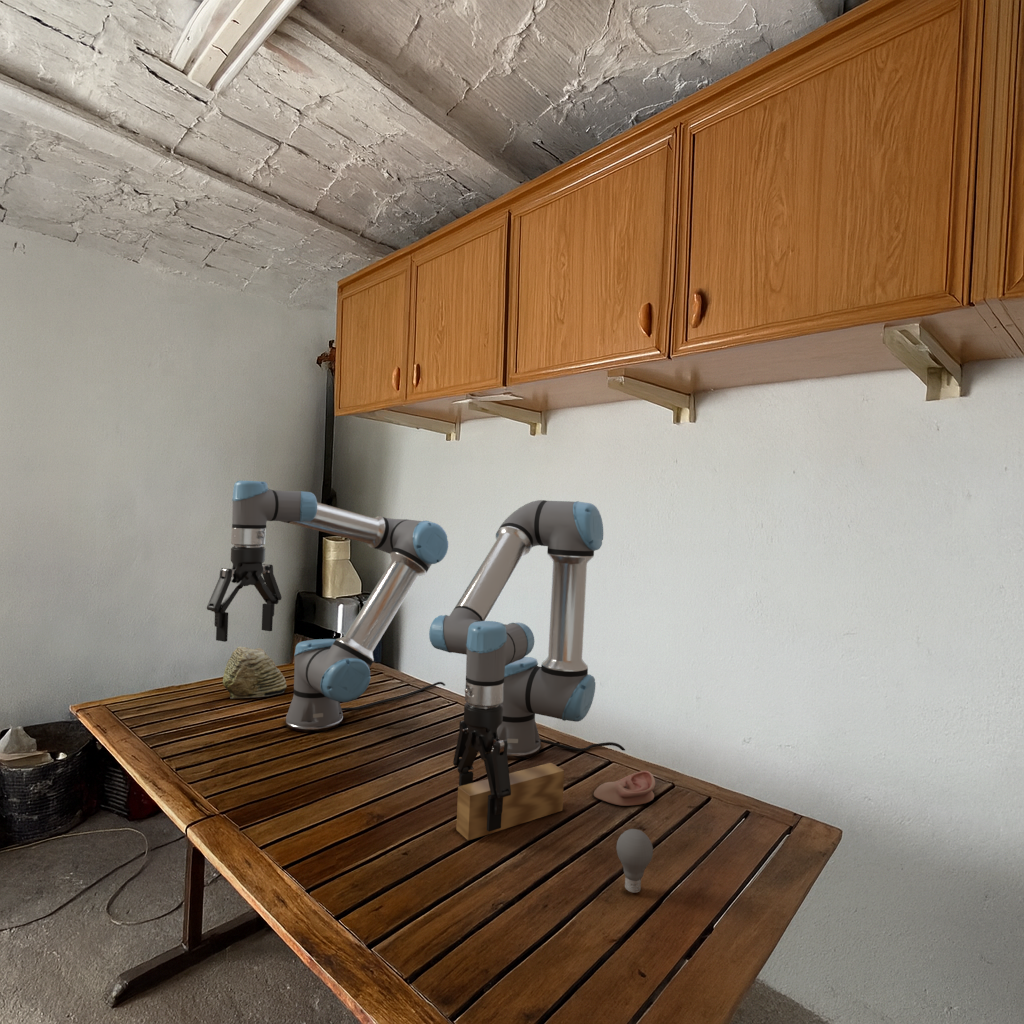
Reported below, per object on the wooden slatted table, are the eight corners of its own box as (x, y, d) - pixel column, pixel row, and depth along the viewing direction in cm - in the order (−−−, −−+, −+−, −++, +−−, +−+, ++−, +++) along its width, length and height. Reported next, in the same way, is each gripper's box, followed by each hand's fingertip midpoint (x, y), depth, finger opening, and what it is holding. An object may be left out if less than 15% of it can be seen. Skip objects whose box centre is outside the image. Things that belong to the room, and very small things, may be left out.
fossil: (218, 695, 195) (220, 647, 195) (278, 685, 208) (279, 640, 207) (228, 703, 189) (230, 653, 188) (289, 692, 201) (290, 645, 201)
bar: (549, 801, 136) (550, 762, 136) (562, 810, 132) (564, 770, 132) (456, 830, 123) (457, 786, 123) (468, 841, 119) (470, 796, 119)
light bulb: (610, 879, 108) (613, 822, 108) (644, 879, 109) (647, 822, 109) (619, 902, 102) (622, 840, 102) (655, 901, 103) (658, 840, 103)
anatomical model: (593, 783, 136) (596, 762, 147) (592, 802, 136) (596, 779, 148) (656, 792, 134) (655, 770, 145) (655, 810, 134) (654, 787, 145)
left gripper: (216, 549, 137) (212, 647, 137) (298, 544, 159) (295, 628, 160) (191, 547, 140) (188, 643, 140) (275, 542, 162) (272, 624, 163)
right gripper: (439, 689, 130) (434, 797, 130) (500, 724, 111) (494, 849, 112) (470, 684, 134) (465, 789, 134) (534, 717, 115) (528, 838, 116)
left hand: (245, 635), depth 150 cm, fingers open, 13 cm apart
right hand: (478, 816), depth 123 cm, fingers open, 10 cm apart
